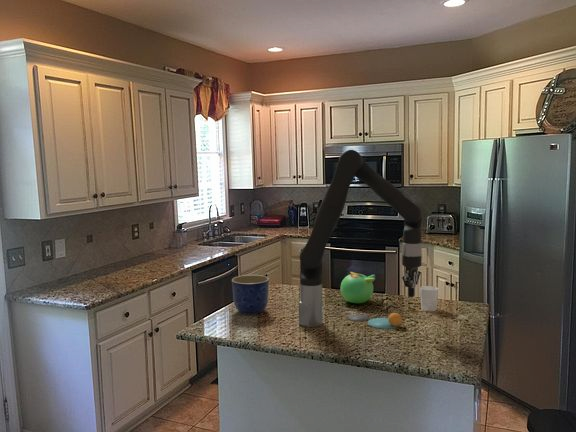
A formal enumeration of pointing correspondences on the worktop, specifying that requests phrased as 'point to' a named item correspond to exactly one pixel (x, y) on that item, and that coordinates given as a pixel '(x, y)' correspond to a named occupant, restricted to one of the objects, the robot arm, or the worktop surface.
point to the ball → (395, 319)
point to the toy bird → (357, 287)
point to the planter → (250, 293)
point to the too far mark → (358, 318)
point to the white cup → (429, 298)
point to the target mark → (381, 323)
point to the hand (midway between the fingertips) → (411, 296)
